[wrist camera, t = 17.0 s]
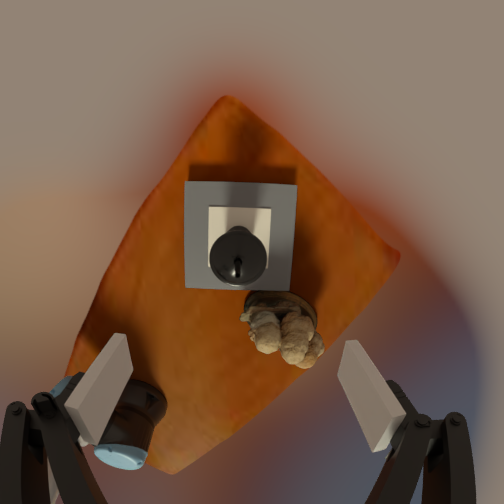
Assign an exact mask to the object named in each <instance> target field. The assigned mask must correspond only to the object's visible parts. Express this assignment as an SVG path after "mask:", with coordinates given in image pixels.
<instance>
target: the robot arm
mask: <svg viewBox="0 0 504 504" xmlns="http://www.w3.org/2000/svg"><path fill="white" fill-rule="evenodd" d="M132 372H133V366H132V361H131V357H130V352H129V348H128V343H127V337H126V334H120V333H114V335H113V336H112V337H111V339H110V340H109V341H108V343H107V344H106V345H105V347H104V348H103V349H102V351H101V352H100V354H99V355H98V356H97V358H96V359H95V360H94V362H93V363H92V365H91V366H90V367H89V369H88V370H87V372H86V373H83V372H79V373H77V374H76V375H74V376H67V377H65V378H64V379H62V380H61V381H60V382H59V383H58V384H57V385H56V386H55V387H54V388H53V389H52V390H51V391H50V392H49V393H47V392H41V393H38V394H36V395H35V396H34V397H33V398H32V401H31V404H32V406H33V408H34V410H28V409H27V408H26V406H25V404H24V403H22V402H19V401H16V402H13V403H11V404H10V405H8V407H7V409H6V414H5V418H4V423H3V429H2V435H1V442H0V504H55V501H56V499H57V496H58V494H59V493H60V496H61V498H62V500H63V503H64V504H108V503H107V501H106V499H105V497H104V496H103V494H102V492H101V490H100V488H99V486H98V484H97V482H96V480H95V478H94V476H93V474H92V471H91V469H90V467H89V465H88V463H87V460H86V458H85V456H84V453H83V451H82V448H81V446H86V445H87V444H88V443H90V444H92V445H93V446H94V453H95V455H96V456H97V457H98V458H99V459H100V460H101V461H103V462H105V463H107V464H109V465H111V466H114V467H117V468H121V469H126V470H135V469H138V468H140V467H142V466H143V464H144V461H145V459H146V457H147V455H148V449H149V445H150V442H151V438H152V435H153V431H154V428H155V426H156V425H157V424H158V423H159V422H160V421H161V419H162V418H163V417H164V416H165V413H166V410H167V402H166V400H165V398H164V396H163V395H162V394H161V393H160V392H159V391H158V390H157V389H155V388H154V387H152V386H151V385H149V384H147V383H144V382H142V381H138V380H129V378H130V376H131V374H132ZM337 376H338V378H339V380H340V383H341V385H342V387H343V389H344V391H345V393H346V396H347V398H348V400H349V402H350V404H351V406H352V409H353V411H354V413H355V415H356V417H357V420H358V422H359V424H360V426H361V428H362V431H363V433H364V435H365V437H366V439H367V442H368V444H369V446H370V449H371V451H372V452H376V451H379V450H383V449H386V447H387V446H388V444H389V443H391V445H392V449H391V451H390V452H389V453H388V455H387V456H386V458H385V459H386V462H385V464H384V466H383V468H382V471H381V473H380V475H379V477H378V479H377V481H376V483H375V485H374V487H373V489H372V491H371V493H370V495H369V496H368V498H367V500H366V502H365V504H410V501H411V498H412V496H413V493H414V490H415V488H416V485H417V482H418V479H419V476H420V473H421V470H422V467H424V468H423V490H422V503H421V504H476V486H475V474H474V465H473V457H472V450H471V444H470V439H469V432H468V427H467V422H466V419H465V417H464V416H463V415H462V414H460V413H458V412H451V413H449V414H447V416H446V417H445V419H444V420H431V418H430V417H428V416H427V415H424V414H418V412H417V411H416V409H415V408H414V406H413V405H412V403H411V402H410V400H409V399H408V398H407V397H406V395H405V393H404V392H403V390H402V389H401V388H400V386H399V385H398V384H397V383H395V382H394V381H393V380H388V381H385V380H384V379H383V377H382V376H381V374H380V373H379V371H378V370H377V368H376V367H375V365H374V364H373V362H372V361H371V359H370V358H369V356H368V355H367V353H366V352H365V350H364V349H363V348H362V346H361V345H360V343H359V342H358V340H350V341H346V343H345V347H344V351H343V355H342V359H341V363H340V367H339V370H338V374H337ZM423 463H424V465H423Z"/></svg>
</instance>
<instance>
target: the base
mask: <svg viewBox="0 0 504 504" xmlns="http://www.w3.org/2000/svg"><path fill="white" fill-rule="evenodd" d="M296 199H297V185H286V184H269V183H248V182H213V181H185V198H184V253H185V287H186V288H204V289H230V290H269V291H289V289H290V278H291V267H292V255H293V243H294V229H295V215H296ZM234 226H243V227H245V228H247V229H248V230H249V231H250V232H251V233H252V234H254V235H255V236H256V237H258V238H259V239H260V240H261V242H262V243H263V245H264V247H265V249H266V253H267V265H266V268H265V270H264V272H263V274H262V275H261V276H260V278H259V279H257V280H256V281H255V282H253V283H251V284H249V285H246V286H231V285H228V284H225V283H223V282H222V281H220V280H219V279H218V278H217V277H216V276H215V275H214V273H213V271H212V269H211V267H210V262H209V254H210V250H211V247H212V245H213V244H214V242H215V241H216V240H217V239H218V238H219V237H220V236H221V235H223V234H224V233H226V232H227V231H228V230H229V229H230V228H232V227H234Z"/></svg>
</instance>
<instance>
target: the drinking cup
mask: <svg viewBox="0 0 504 504" xmlns="http://www.w3.org/2000/svg"><path fill="white" fill-rule="evenodd" d="M209 262H210V267H211V269H212V271H213V273H214V275H215V276H216V277H217V278H218V279H219V280H220V281H222V282H223V283H225V284H228V285H231V286H246V285H249V284H251V283H253V282H255V281H256V280H257V279H259V278H260V276H261V275H262V274H263V272H264V270H265V268H266V265H267V253H266V249H265V247H264V245H263V243H262V242H261V240H260V239H259V238H258V237H256V236H255V235H254V234H252V233H251V232H250V231H249V230H248V229H247V228H245V227H243V226H234V227H232V228H230V229H229V230H228V231H227V232H226V233H224V234H223V235H221V236H220V237H219V238H218V239H217V240H216V241H215V242H214V244H213V245H212V247H211V250H210V254H209Z"/></svg>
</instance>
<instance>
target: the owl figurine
mask: <svg viewBox="0 0 504 504" xmlns="http://www.w3.org/2000/svg"><path fill="white" fill-rule="evenodd" d="M285 315H286V316H285ZM284 316H285V317H284ZM283 317H284V318H283ZM280 318H283V319H282V320H281V319H280ZM240 320H241V321H247V322H248V324H249V325H250V327H251V329H250V330H249V332H248V334H249V335H250V339H251V340H252V341H254V342H255V344H256V347H257V349H258V351H261V352H263V353H266V354H269V353H272V352H274V351H277V350H278V348H280V349H279V351H281V355H282V357H283V358H284V359H285V360H286V362H287V363H289V364H295V365H296V366H298V367H300V368H304V369H305V368H310V367H311V366H313V365H314V363H315V362H316V360H317V357H318V356H320V355H321V354H322V353H323V352H324V347H325V346H324V344H323V342H322V338H321V336H320V334H319V333H317V332H316V327H317V317H316V314H315V312H314V310H313V308H312V307H311V306H310V305H309V304H308V303H307V302H306V301H305V300H304V299H303V298H301V297H299V296H298V295H296V294H294V293H291V292H289V291H269V290H258V291H257V292H255V293H253V294H252V295H250V297H249V298H248V299H247V301H246V303H245V305H244V312H243V313H242V314H241V316H240Z"/></svg>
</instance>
